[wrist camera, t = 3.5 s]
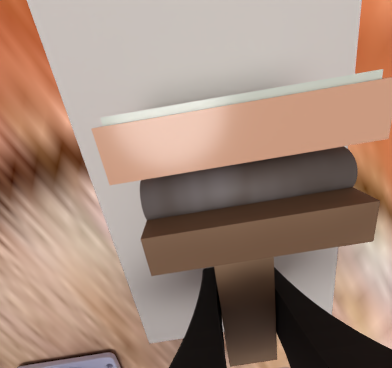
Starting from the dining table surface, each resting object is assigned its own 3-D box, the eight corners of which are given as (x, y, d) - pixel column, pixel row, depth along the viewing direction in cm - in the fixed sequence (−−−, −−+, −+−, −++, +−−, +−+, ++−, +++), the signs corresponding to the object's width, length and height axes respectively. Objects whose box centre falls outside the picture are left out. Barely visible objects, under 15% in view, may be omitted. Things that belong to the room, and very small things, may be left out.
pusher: (278, 291, 15) (342, 420, 9) (194, 304, 15) (200, 441, 9) (274, 128, 11) (387, 157, 5) (160, 147, 11) (128, 199, 5)
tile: (283, 121, 11) (388, 138, 5) (148, 144, 11) (109, 185, 5) (282, 87, 10) (400, 66, 5) (141, 111, 10) (88, 119, 5)
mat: (328, 309, 16) (331, 314, 16) (150, 338, 17) (149, 343, 16) (371, -188, 8) (381, -204, 7) (-10, -117, 8) (-19, -128, 7)
